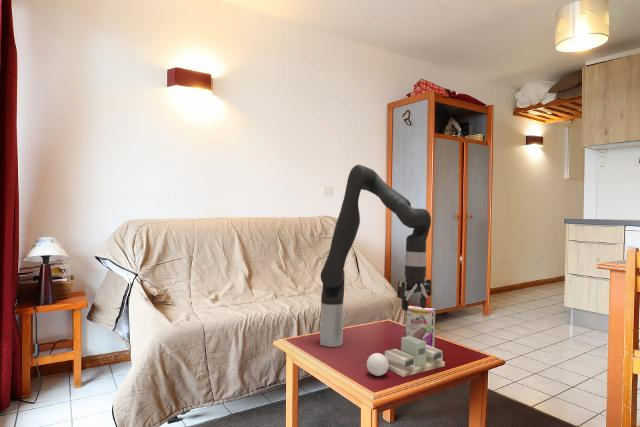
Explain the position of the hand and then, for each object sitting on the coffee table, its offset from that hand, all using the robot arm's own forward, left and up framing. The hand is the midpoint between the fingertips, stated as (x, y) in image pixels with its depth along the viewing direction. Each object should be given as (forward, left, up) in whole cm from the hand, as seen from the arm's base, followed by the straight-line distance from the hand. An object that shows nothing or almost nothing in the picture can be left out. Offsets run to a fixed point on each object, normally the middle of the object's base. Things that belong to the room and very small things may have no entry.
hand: (414, 309), depth 149 cm
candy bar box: (+6, +20, -21) cm, 30 cm away
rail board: (0, 0, -21) cm, 21 cm away
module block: (0, 0, -19) cm, 19 cm away
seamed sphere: (-15, -9, -21) cm, 27 cm away
